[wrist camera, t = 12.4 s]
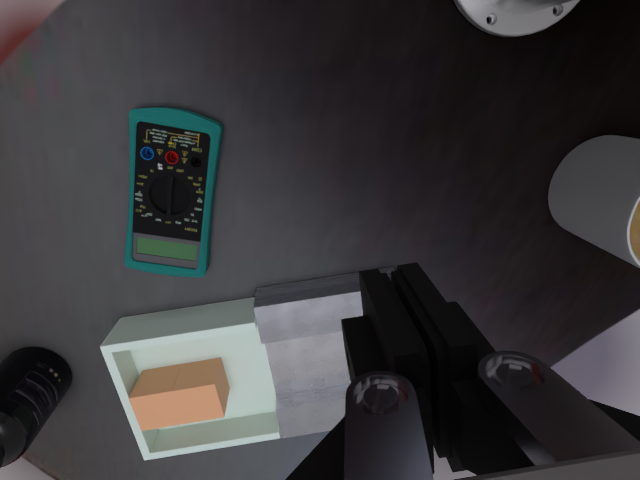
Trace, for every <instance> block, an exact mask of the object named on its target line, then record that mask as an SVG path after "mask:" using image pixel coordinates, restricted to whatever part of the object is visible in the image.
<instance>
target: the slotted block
mask: <svg viewBox="0 0 640 480" xmlns="http://www.w3.org/2000/svg"><path fill="white" fill-rule="evenodd" d="M379 271H380V273H385V272H386V273H387V275H388V276H389V278H390V280H391V271H395V270H394V268H393V267H388V268H382V269H379ZM253 308H254V313H255V318H256V322H257V327H258V331H259V336H260V340H261V344H265V346H266V351H267V356H268V360H269V365H270V370H271V374H272V379H273V384H274V388H275V393H276V413H277V418H278V423H279V427H280V432H281V436H282V438H287V437H294V436H300V435H306V434H312V433H318V432H324V431H330V430H332V429H333V428H334V427H335V426H336V425H337V424H338V423H339V421H340V420H341V419H342V418H343V417H344V416H345V395H346V391H347V388H348V386H349V385H350V383H351V380H350V376H349V371H348V366H347V360H346V354H345V348H344V340H343V333H342V325H341V319H345V318H351V317H358V316H363V310H362V300H361V291H360V282H359V272H356V273H349V274H343V275H336V276H329V277H323V278H316V279H310V280H303V281H297V282H290V283H284V284H277V285H271V286H264V287H258V288H256V293H255V300H254V307H253Z"/></svg>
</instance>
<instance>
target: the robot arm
mask: <svg viewBox="0 0 640 480" xmlns="http://www.w3.org/2000/svg"><path fill="white" fill-rule="evenodd" d="M453 1H454V2H455V4H456V6H457V8H458V10H459V11H460V12H461V13H462V14H463V16H464V17H465V18H466V19H467V20H468V21H469V22H470V23H472V24H473V25H474V26H475V27H477V28H478V29H480V30H482V31H484V32H487V33H489V34H491V35H496V36H501V37H519V36H524V35H529V34H533V33H535V32H538V31H541V30H544V29H546V28H548V27H549V26H551V25H553V24H555V23H556V22H558V21H559V20H560V19H562V18H563V17H564V16H565V15H566V14H568V13H569V12H570V11H571V10H572V9H573V8H574V7H575V5H576V4H577V3H578V2H579V1H580V0H453ZM553 10H554V13H553ZM487 18H489V23H487V21H486V19H487ZM359 282H360V291H361V300H362V310H363V316H358V317H351V318H345V319H341V325H342V333H343V340H344V348H345V354H346V360H347V366H348V371H349V376H350V380H351V383H350V385H349V386H348V388H347V391H346V395H345V416H344V417H343V418H342V419H341V420H340V421H339V423H338V424H337V425H336V426H335V427H334V428H333V429H332V430H331V431H330V432H329V433H328V434H327V435H326V437H325V438H324V439H323V440H322V441H321V442H320V443H319V444H318V445H317V446H316V447H315V448H314V449H313V450H312V452H311V453H310V454H309V455H308V456H307V457H306V458H305V459H304V460H303V461H302V462H301V463H300V464H299V465H298V467H297V468H296V469H295V470H294V471H293V472H292V473H291V474H290V475H289V476H288V477H287V478H286V479H285V480H434V479H433V474H434V454H433V453H434V452H433V446H434V448H435V450H436V453H437V455H438V457H439V458H443V457H446V458H447V460H448V463H449V465H450V467H451V469H452V472H458V471H464V470H469V471H470V472H472V473H474V474H476V475H477V476H473V477H466V478H461V479H455V480H640V416H637V415H635V414H632V413H629V412H625V411H622V410H620V409H617V408H614V407H611V406H608V405H605V404H601V403H599V402H595V401H593V400H589V399H587V398H586V397H585V396H584V395H582V394H581V393H580V392H579V391H578V390H576V389H575V388H574V387H573V386H572V385H570V384H569V383H568V382H567V381H565V380H564V379H563V378H562V377H561V376H560V375H558V374H557V373H556V372H555V371H554V370H552V369H551V368H550V367H549V366H547V365H546V364H545V363H544V362H542V361H540V360H539V359H537V358H536V357H533V356H531V355H528V354H526V353H521V352H517V351H497V352H496V351H495V350H494V348H493V347H492V346H491V345H490V343H489V342H488V341H487V339H486V338H485V337H484V336H483V334H482V333H481V332H480V331H479V329H478V328H477V327H476V326H475V324H474V323H473V322H472V320H471V319H470V318H469V317H468V315H467V314H466V313H465V312H464V310H463V309H462V308H461V307H460V305H459V304H458V303H457V302H446V301H445V299H444V298H443V297H442V295H441V294H440V293H439V291H438V290H437V289H436V287H435V286H434V285H433V283H432V282H431V280H430V279H429V278H428V276H427V275H426V274H425V272H424V271H423V270H422V268H421V267H420V266H419V264H418V263H411V264H404V265H398V266H397V271H391V280H390V278H389V276H388V275H387V273H386V272H385V273H380V271H379V269H372V270H365V271H359Z"/></svg>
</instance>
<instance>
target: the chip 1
mask: <svg viewBox="0 0 640 480" xmlns="http://www.w3.org/2000/svg"><path fill="white" fill-rule="evenodd" d="M181 365H182V364H176V365H171V366H165V367H159V368H153V369H147V370H142V372H141V374H140V376H139V378H138V380H137V382H136V384H135V386H134V388H133V390H132V392H131V394H130V396H129V398H128V399H129V401H130V404H131V406H132V409H133V411H134V414H135V416H136V419H137V421H138V424H139V426H140V429H141V431H145V430H151V429H157V428H163V427H168V426H174V425H180V424H183V422H182V420H181V417H180V414H179V411H178V408H177V405H176V402H175V400H174V397H173V394H172V389H173V386H174V384H175V381H176V378H177V376H178V373H179V370H180V368H181Z"/></svg>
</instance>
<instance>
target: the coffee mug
mask: <svg viewBox="0 0 640 480" xmlns="http://www.w3.org/2000/svg"><path fill="white" fill-rule="evenodd" d="M548 204H549V209H550V212H551V214H552V216H553V218H554V220H555V221H556V222H557V223H558V224H559V225H560V226H561V227H562V228H564V229H565V230H567V231H569V232H571V233H573V234H575V235H577V236H579V237H581V238H582V239H584V240H586V241H588V242H590V243H592V244H594V245H596V246H598V247H600V248H602V249H604V250H606V251H608V252H610V253H612V254H613V255H615V256H617V257H619V258H621V259H623V260H625V261H627V262H629V263H631V264H633V265H635V266H637V267H639V268H640V139H636V138H630V137H623V136H616V135H604V136H599V137H596V138H593V139H590V140H588V141H585V142H583V143H582V144H580V145H579V146H577V147H576V148H575V149H573V150H572V151H571V152H570V153H569V154H568V155H567V156H566V157H565V158H564V159H563V160H562V162H561V163H560V164H559V166H558V167H557V169H556V171H555V173H554V175H553V177H552V179H551V182H550V187H549V192H548Z"/></svg>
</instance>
